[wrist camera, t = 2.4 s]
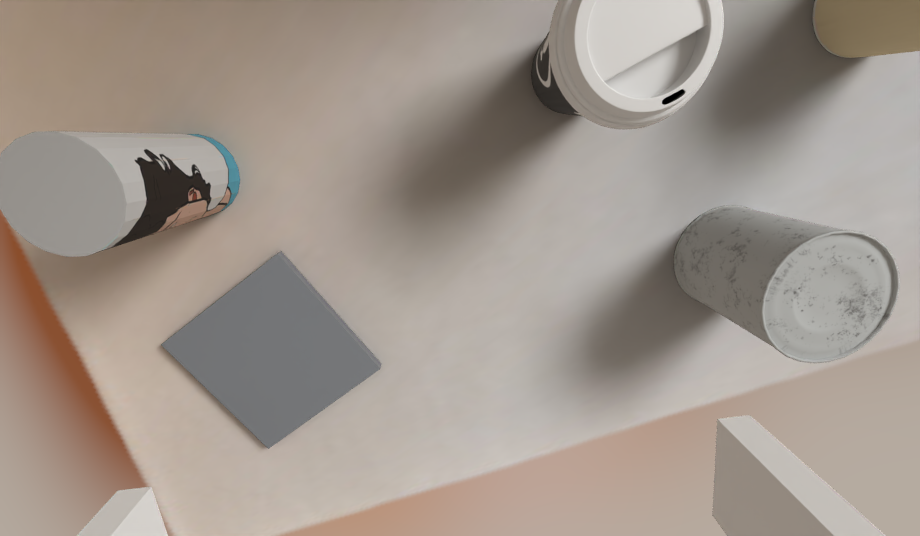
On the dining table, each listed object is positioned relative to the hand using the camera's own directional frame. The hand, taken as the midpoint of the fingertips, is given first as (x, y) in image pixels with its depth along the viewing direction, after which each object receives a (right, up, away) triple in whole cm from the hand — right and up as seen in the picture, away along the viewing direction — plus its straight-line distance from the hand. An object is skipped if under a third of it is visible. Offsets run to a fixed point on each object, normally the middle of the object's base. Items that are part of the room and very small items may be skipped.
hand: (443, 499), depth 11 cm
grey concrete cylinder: (+25, +7, +33) cm, 42 cm away
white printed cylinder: (-22, +13, +29) cm, 38 cm away
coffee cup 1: (+9, +22, +28) cm, 37 cm away
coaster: (-17, -2, +33) cm, 37 cm away
